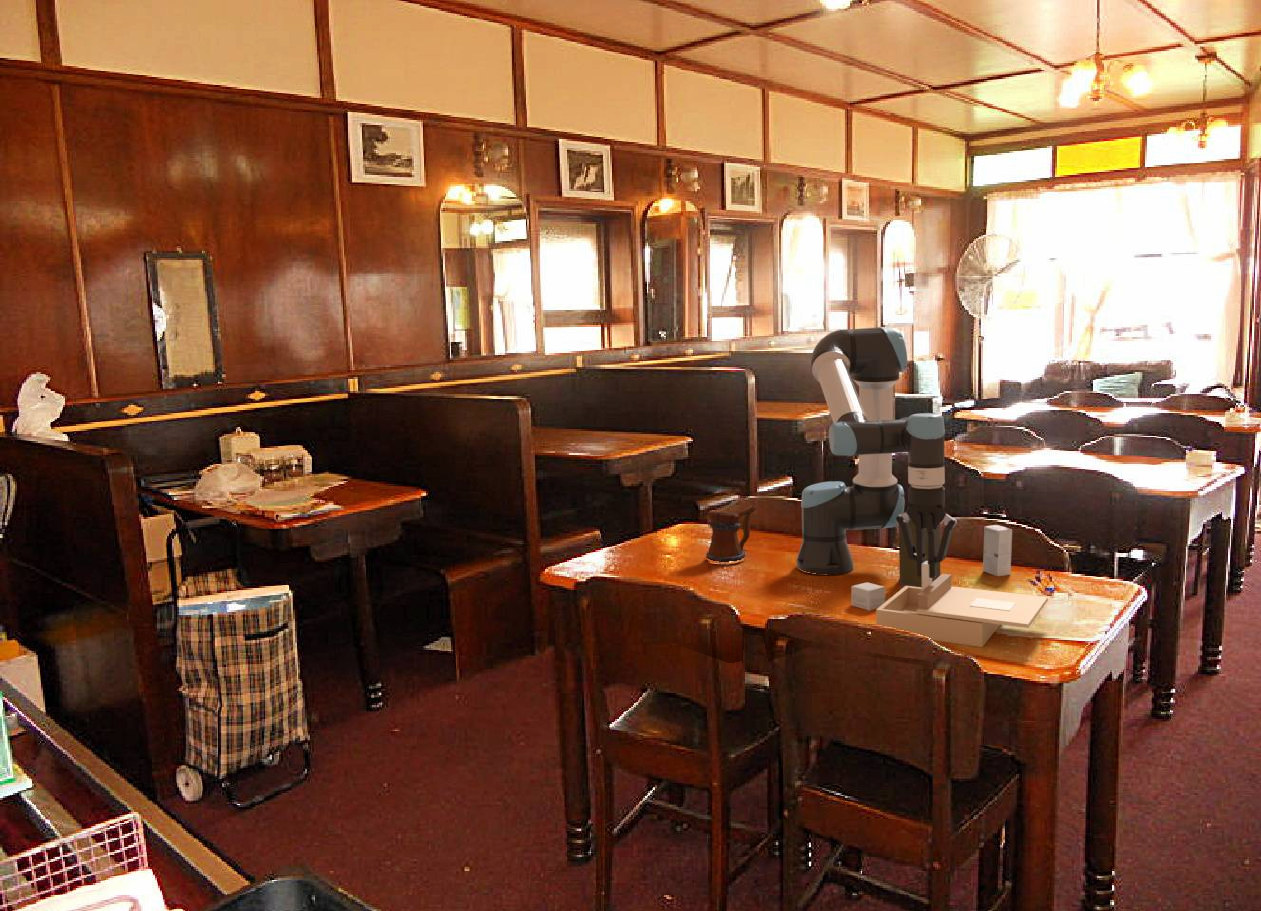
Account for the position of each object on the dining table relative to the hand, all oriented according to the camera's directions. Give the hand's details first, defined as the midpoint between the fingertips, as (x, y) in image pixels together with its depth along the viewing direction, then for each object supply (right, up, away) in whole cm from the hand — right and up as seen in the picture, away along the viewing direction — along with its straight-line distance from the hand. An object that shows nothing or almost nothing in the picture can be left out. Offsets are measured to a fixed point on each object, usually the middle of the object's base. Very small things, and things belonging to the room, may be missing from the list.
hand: (927, 591), depth 204 cm
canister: (+9, -3, +33) cm, 34 cm away
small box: (-9, -6, +16) cm, 19 cm away
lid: (+10, -2, -6) cm, 12 cm away
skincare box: (+30, -1, +37) cm, 48 cm away
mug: (-35, 0, +66) cm, 75 cm away
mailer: (+3, -7, -1) cm, 8 cm away
